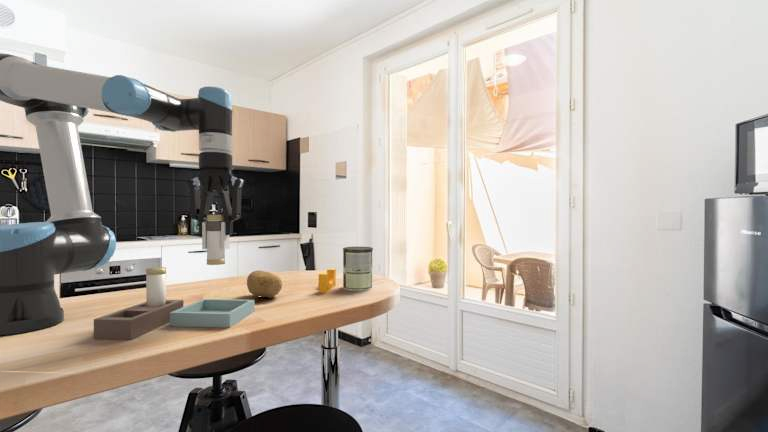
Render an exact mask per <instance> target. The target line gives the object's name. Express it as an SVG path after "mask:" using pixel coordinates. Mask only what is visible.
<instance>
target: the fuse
mask: <svg viewBox="0 0 768 432" xmlns="http://www.w3.org/2000/svg"><path fill="white" fill-rule="evenodd" d="M145 275H146V276H145V278H146V279H145V280H146V284H145V288H146V289H145V290H146V291H145V292H146V294H145V295H146V296H145V297H146V300H145V302H146V307H161V306H164V305H166V300H167V299H166V298H167V291H166V290H167V277H166V276H167V267H162V266H161V267H160V266H159V267H157V266H156V267H149V268H146V269H145Z"/></svg>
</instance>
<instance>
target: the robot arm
mask: <svg viewBox="0 0 768 432" xmlns="http://www.w3.org/2000/svg"><path fill="white" fill-rule="evenodd" d="M232 97H233V96H232V95H231V93H230V92H229V90H226V89H224V88H222V87H217V86H210V85H209V86H204V87H200V88H199V89H198V94H197V97H195V98H194V97H193V98H178V97H175V96H173V95H170V94H169V93H166V92H164V91H162V90H159V89H157V88H154V87H152V86H151V85H147V84H146V83H144V82H141V81H140V80H138V79H136V78H133V77H128V76H126V75H123V74H122V75H121V74H116V75H115V74H114V75H113V76H106V75H100V74H99V75H98V74H95V73H94V74H93V73H88V72H82V71H77V70H76V71H75V70H70V69H64V68H58V67H53V66H48V65H47V66H46V65H42V64H39V63H37V62H33V61H31V60H29V59H27V58H24V57H21V56H18V55H12V54H8V53H1V52H0V102H3V103H6V104H9V105H13V106H16V107H20V108H23V109H24V112H25V118H26V121H27V122H28V123H30V124H31V125H33V126H35V130H36V132H35V133H36V136H37V137H36V138H37V142H38V149H39V153H40V159H41V165H42V171H43V176H44V183H45V189H46V194H47V199H48V200H47V201H48V205H49V211H50V212H49V213H50V217H49V218H48V219H47V220H46V221H35V222H34V221H32V222H25V223H24V222H21V223H14V224H13V223H12V224H11V223H10V224H4V225H3V224H2V225H0V336H5V335H8V336H9V335H14V334H21V333H27V332H33V331H38V330H42V329H46V328H49V327H53V326H56V325H58V324H61V323H62V322H64V320H65V311H64V309H63V307H61V303H60V300H59V297H58V294H57V293H56V289H55V275H61V274H67V273H74V272H75V273H76V272H80V271H82V272H84V271H85V272H86V271H89V270H92V269H97V268H100V267H102V266H104V265H106V264H107V263H108V262H110V260H111V258H112V257H113V256H114V254H115V252H116V249H117V239H116V238H117V237H116V236H115V233H114V232H113V230H111V229H110V228H109V227H107V226H105V225H103V222H102V217H101V216H100V215H98V214H97V213H95V212H94V210H93V207H92V200H91V195H90V194H91V193H90V190H89V183H88V182H89V181H88V179H87V172H86V166H85V161H84V155H83V150H82V144H81V140H80V139H81V138H80V132H79V126H80V125H82V124H83V123H84V118H85V117H86V116H87V115H88V113H89V112H90V111H89V110H90V109H91V110H95V111H96V110H97V111H100V112H107V113H110V114H116V115H121V116H126V117H131V118H136V119H139V120H142V121H146V122H149V123H152V125H153V126H155V128H156V129H157V130H159V131H161V132H173V133H174V132H180V131H183V132H184V131H185V132H186V131H198V151H199V152H200V153H198V168H199V172H198V174H197V177H194V178H187V180H186V183H187V186H188V188H189V204H190V206H189V208H190V219H191V220H195V221H197V222H198V234H199V236H202V238H201V245H202V248H201V249H202V250H207V215H210V210H211V206H212V202H213V196H214V194H215V192H217V194H218V196H219V200H220V206H221V210H222V215H223V216H224V220H223V221H224V222H221V249H225V250H228V249H230V236H233V233H234V227H233V226H234V222H235V221H236V220H240V219H241V218H242V189H243V187H244V185H245V180H244V179H242V178H239V177H238V178H237V177H236V176H234V174H233V156H232V153H233V111H234V109H233V102H232V101H233V99H232ZM200 183H201V184H200ZM230 184H231V185H232V190H231V193H232V196H231V198H230V190H229V186H230ZM201 185H202V191H200V186H201ZM201 193H202V197H201Z"/></svg>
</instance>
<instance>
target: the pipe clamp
mask: <svg viewBox="0 0 768 432" xmlns="http://www.w3.org/2000/svg"><path fill="white" fill-rule="evenodd" d="M336 272H337V270H336V268H327V269H326V273H323V272H321V273H318V283H317V287H318V294H327V293H328V292H330V291H331V290H332V289H334V288H335V287H336V284H337V283H336V282H337V281H336V280H337V278H336V277H337V273H336Z"/></svg>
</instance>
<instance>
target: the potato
mask: <svg viewBox="0 0 768 432" xmlns="http://www.w3.org/2000/svg"><path fill="white" fill-rule="evenodd" d="M246 286H247V289H248V292H249V293H251V294H252V295H253V296H255V297H256V296H261V297H268V298H267V299H272V298H274V297H275V296H277V295H278V294H279V293H280V291H281V290H282V286H283V281H282V279H281V278H280V276H277V274H274V273H272V272H269V271H264V270H254V271H252V272H250V273H249V274H248V276H247V279H246Z"/></svg>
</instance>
